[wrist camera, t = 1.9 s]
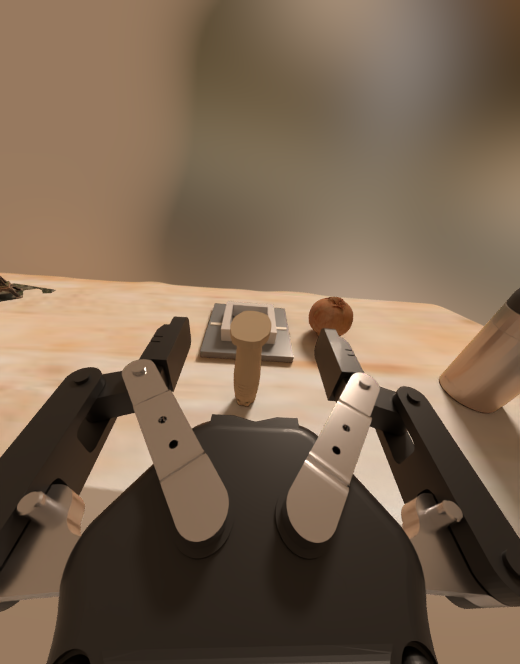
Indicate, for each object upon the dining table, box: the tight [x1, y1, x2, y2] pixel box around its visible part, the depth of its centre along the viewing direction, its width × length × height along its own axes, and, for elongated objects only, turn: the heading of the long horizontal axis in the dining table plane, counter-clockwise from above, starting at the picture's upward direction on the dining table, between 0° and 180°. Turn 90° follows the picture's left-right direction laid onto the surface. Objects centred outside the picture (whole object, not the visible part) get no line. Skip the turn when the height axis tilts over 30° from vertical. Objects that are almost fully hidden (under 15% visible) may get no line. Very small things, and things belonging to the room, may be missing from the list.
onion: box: [309, 297, 353, 336], centre depth 49 cm, size 10×9×10 cm
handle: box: [230, 311, 272, 406], centre depth 31 cm, size 5×6×15 cm
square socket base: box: [200, 301, 294, 362], centre depth 49 cm, size 18×18×4 cm
